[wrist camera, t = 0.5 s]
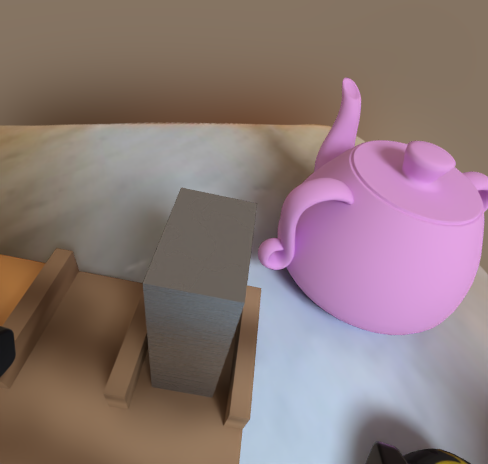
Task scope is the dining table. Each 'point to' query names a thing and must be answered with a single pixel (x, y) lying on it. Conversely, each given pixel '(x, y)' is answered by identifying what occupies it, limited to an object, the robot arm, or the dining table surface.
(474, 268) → the teapot
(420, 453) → the tape measure
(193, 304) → the tall grey box
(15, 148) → the dining table surface
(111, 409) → the rail rack
